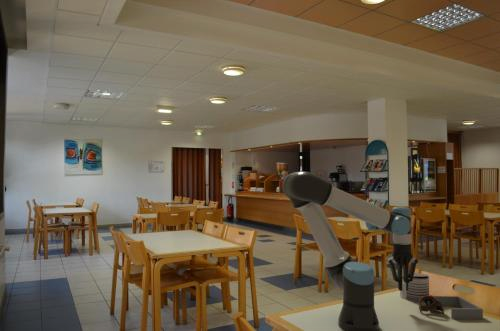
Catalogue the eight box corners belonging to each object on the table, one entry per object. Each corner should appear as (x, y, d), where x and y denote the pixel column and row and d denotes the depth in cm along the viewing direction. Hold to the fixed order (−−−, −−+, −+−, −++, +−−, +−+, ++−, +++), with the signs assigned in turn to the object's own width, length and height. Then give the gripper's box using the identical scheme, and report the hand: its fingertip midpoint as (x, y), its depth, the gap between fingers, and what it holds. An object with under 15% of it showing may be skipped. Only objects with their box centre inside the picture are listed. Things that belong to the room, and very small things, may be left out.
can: (406, 301, 183) (405, 275, 184) (401, 294, 195) (401, 270, 195) (432, 303, 181) (432, 277, 182) (426, 296, 192) (425, 271, 193)
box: (452, 319, 161) (452, 309, 161) (431, 304, 179) (431, 296, 179) (482, 319, 161) (482, 309, 161) (458, 305, 179) (458, 296, 179)
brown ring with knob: (449, 317, 164) (442, 301, 162) (428, 326, 165) (420, 310, 164) (437, 301, 176) (430, 286, 174) (417, 309, 177) (410, 295, 176)
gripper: (413, 241, 175) (414, 295, 174) (384, 241, 174) (385, 295, 174) (420, 244, 167) (422, 300, 166) (390, 244, 167) (391, 300, 166)
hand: (403, 297), depth 170 cm, fingers closed
